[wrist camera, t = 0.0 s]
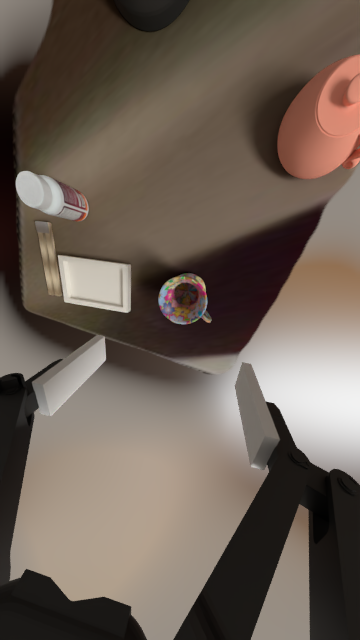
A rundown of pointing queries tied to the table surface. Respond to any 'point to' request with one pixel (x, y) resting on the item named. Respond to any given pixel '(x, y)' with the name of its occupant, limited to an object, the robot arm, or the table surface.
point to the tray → (96, 283)
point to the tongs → (49, 257)
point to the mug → (184, 299)
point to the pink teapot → (323, 123)
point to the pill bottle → (51, 196)
